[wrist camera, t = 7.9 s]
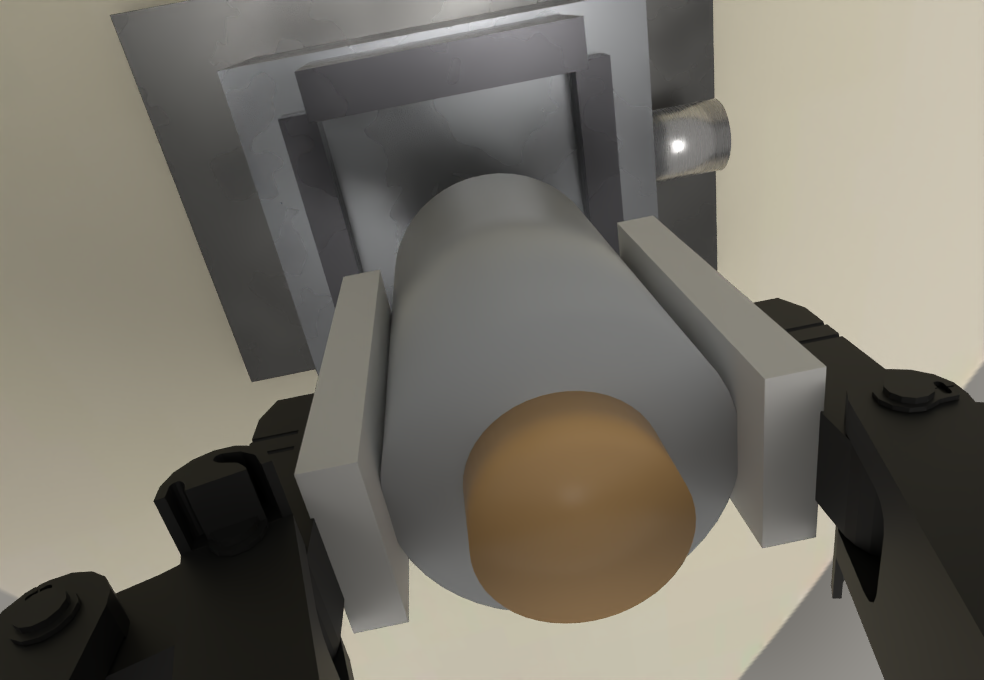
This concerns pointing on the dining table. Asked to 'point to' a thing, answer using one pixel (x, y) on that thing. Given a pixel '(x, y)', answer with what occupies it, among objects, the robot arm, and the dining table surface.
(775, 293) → the dining table surface
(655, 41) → the stepped square mount
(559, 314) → the grey cylinder with ball
